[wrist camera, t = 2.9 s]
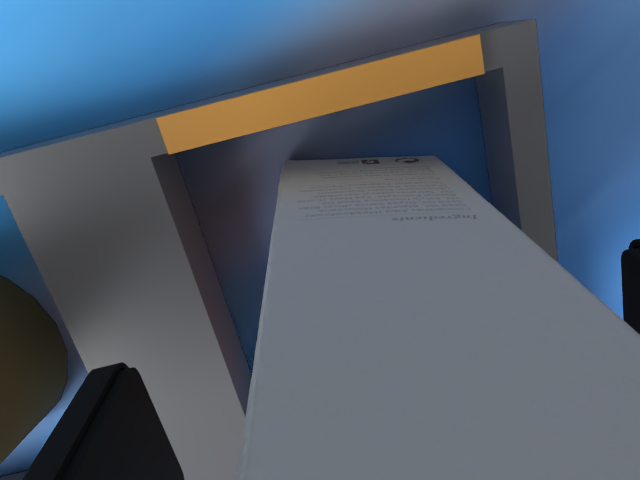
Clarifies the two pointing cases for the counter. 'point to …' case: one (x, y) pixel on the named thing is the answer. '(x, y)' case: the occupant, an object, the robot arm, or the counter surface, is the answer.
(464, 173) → the counter surface
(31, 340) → the cork
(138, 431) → the robot arm
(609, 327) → the skincare box
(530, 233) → the slot holder
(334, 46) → the counter surface
